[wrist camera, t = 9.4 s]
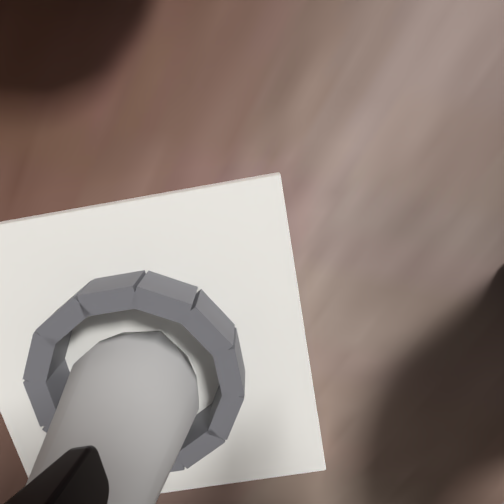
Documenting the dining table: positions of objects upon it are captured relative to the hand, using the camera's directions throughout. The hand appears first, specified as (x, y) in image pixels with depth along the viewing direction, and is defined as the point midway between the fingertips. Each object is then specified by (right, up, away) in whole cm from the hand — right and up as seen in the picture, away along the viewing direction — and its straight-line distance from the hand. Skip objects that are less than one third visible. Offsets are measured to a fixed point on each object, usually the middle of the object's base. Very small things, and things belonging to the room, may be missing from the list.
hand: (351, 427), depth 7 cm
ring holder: (-7, -2, +14) cm, 16 cm away
